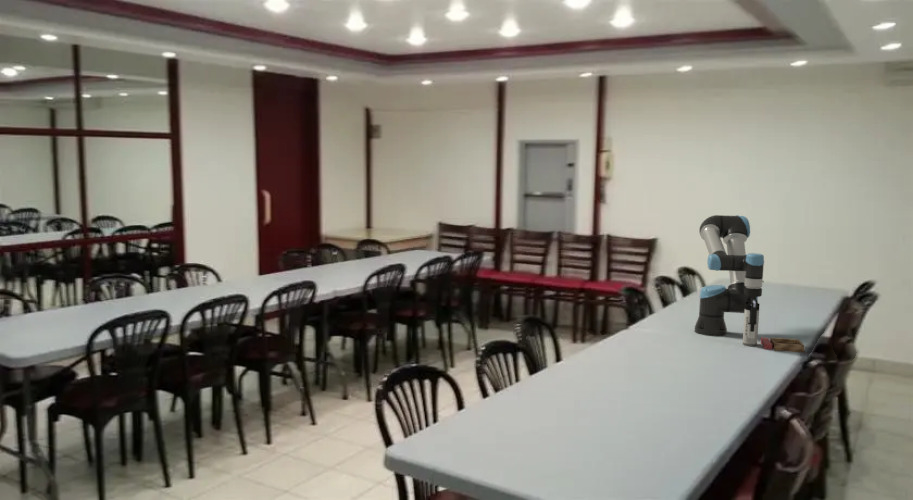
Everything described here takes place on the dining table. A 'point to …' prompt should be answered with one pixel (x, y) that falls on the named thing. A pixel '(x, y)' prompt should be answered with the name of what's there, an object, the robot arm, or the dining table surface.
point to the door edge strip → (766, 343)
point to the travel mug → (747, 340)
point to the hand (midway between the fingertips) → (750, 336)
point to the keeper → (787, 345)
